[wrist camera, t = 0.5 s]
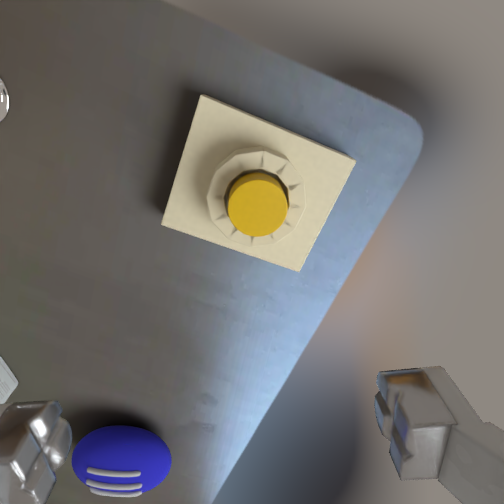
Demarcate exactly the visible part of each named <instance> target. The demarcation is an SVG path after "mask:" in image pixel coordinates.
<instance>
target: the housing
mask: <svg viewBox="0 0 504 504" xmlns="http://www.w3.org/2000/svg"><path fill="white" fill-rule="evenodd" d="M355 163H356V160H355V159H353V158H352V157H350V156H348V155H346V154H344V153H341V152H339V151H337V150H334V149H332V148H330V147H327V146H325V145H323V144H320V143H318V142H316V141H313V140H311V139H309V138H306V137H304V136H301V135H299V134H297V133H294V132H292V131H290V130H287V129H285V128H283V127H280V126H278V125H276V124H273V123H271V122H269V121H266V120H264V119H262V118H259V117H257V116H254V115H252V114H250V113H247V112H245V111H243V110H240V109H238V108H236V107H233V106H231V105H229V104H226V103H224V102H222V101H219V100H217V99H215V98H212V97H210V96H207V95H205V94H202V95H200V98H199V101H198V105H197V108H196V111H195V114H194V118H193V121H192V124H191V127H190V131H189V134H188V137H187V140H186V144H185V147H184V150H183V154H182V157H181V160H180V163H179V167H178V170H177V173H176V176H175V180H174V183H173V186H172V189H171V193H170V196H169V199H168V203H167V206H166V209H165V212H164V216H163V219H162V222H161V225H164V226H167V227H169V228H172V229H175V230H178V231H181V232H184V233H187V234H190V235H193V236H196V237H198V238H201V239H204V240H207V241H210V242H213V243H216V244H219V245H222V246H225V247H228V248H230V249H233V250H236V251H239V252H242V253H245V254H248V255H251V256H254V257H257V258H259V259H262V260H265V261H268V262H271V263H274V264H277V265H280V266H283V267H286V268H289V269H291V270H294V271H297V272H299V271H300V269H301V268H302V266H303V264H304V262H305V260H306V258H307V256H308V254H309V252H310V250H311V248H312V246H313V244H314V242H315V240H316V239H317V237H318V235H319V233H320V231H321V229H322V227H323V225H324V223H325V221H326V219H327V217H328V215H329V213H330V211H331V209H332V208H333V206H334V204H335V202H336V200H337V198H338V196H339V194H340V192H341V190H342V188H343V186H344V184H345V182H346V180H347V179H348V177H349V175H350V173H351V171H352V169H353V167H354V165H355ZM250 173H264V174H267V175H270V176H271V177H273V178H274V179H276V180H277V181H278V183H279V184H280V185H281V187H282V189H283V192H284V194H285V196H286V199H287V204H288V211H287V216H286V218H285V221H284V222H283V224H282V225H281V226H280V227H279V228H278V229H277V230H276V231H275V232H273V233H271V234H269V235H266V236H261V237H253V236H249V235H246V234H243V233H242V232H240V231H239V230H237V229H236V228H235V227H234V225H233V224H232V222H231V221H230V218H229V215H228V199H229V193H230V190H231V188H232V186H233V185H234V183H235V182H236V181H237V180H238V179H239V178H241V177H242V176H244V175H247V174H250Z"/></svg>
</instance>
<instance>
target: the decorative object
mask: <svg viewBox="0 0 504 504" xmlns="http://www.w3.org/2000/svg"><path fill="white" fill-rule="evenodd" d="M72 467H73V470H74V472H75V474H76V475H77V477H78V478H79V479H80V480H81V481H82V482H83V483H84V484H86V485H87V486H89V487H91V488H90V491H91V492H93V493H95V494H98V495H105V496H115V497H134V496H139V495H141V494H142V492H146V491H148V490H151V489H153V488H154V487H156V486H157V485H158V484H160V483H161V482H162V481H163V480H164V479H165V477H166V476H167V474H168V472H169V470H170V467H171V454H170V451H169V449H168V447H167V445H166V444H165V442H164V441H163V440H162V439H161V438H160V437H159V436H157V435H156V434H154V433H152V432H150V431H148V430H145V429H142V428H138V427H132V426H119V425H118V426H107V427H102V428H99V429H96V430H94V431H92V432H90V433H89V434H87V435H86V436H85V437H83V438H82V439H81V440H80V441H79V443H78V444H77V445H76V447H75V449H74V451H73V455H72Z"/></svg>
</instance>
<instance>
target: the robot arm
mask: <svg viewBox="0 0 504 504" xmlns="http://www.w3.org/2000/svg"><path fill="white" fill-rule="evenodd" d="M376 383H377V385H378V388H379V390H380V391H379V392H378V393H377V394H376V395H375V413H376V418H377V422H378V425H379V428H380V430H381V433H382V435H383V436H384V437H385V438H386V439H388V440H389V441H390V442H391V444H390V451H389V453H390V455H391V458H392V460H393V463H394V465H395V468H396V470H397V472H398V475H399V477H400V480H417V479H418V480H419V479H437V478H439V479H438V481H439V482H440V483H441V484H442V485H443V486H444V487H445V488H446V489H447V490H448V491H450V492H451V493H452V494H453V495H454V496H455V497H456V498H457V499H458V500H459V501H460V502H461V503H462V504H504V431H503V430H502V429H500V428H498V427H497V426H495V425H494V424H492V423H490V422H485V423H483V422H482V420H481V419H480V417H479V416H478V415H477V413H476V412H475V410H474V409H473V408H472V406H471V405H470V404H469V402H468V401H467V399H466V398H465V397H464V395H463V394H462V393H461V391H460V390H459V388H458V387H457V386H456V384H455V383H454V382H453V380H452V379H451V377H450V376H449V375H448V373H447V372H446V371H445V369H444V368H442V367H441V366H435V367H423V368H411V369H401V370H391V371H381V372H379V373H378V375H377V382H376ZM61 412H62V408H61V406H60V404H59V402H58V401H53V400H50V401H33V402H16V403H5V404H0V504H46V502H47V500H48V498H49V496H50V493H51V491H52V489H53V487H54V485H55V483H56V476H55V471H56V470H57V469H58V468H59V467H60V466H61V465H62V464H63V463H64V462H65V461H66V458H67V456H68V454H69V451H70V448H71V442H72V431H71V427H70V425H69V423H68V421H66V420H64V419H63V418H61V417H60V414H61Z"/></svg>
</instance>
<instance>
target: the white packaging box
mask: <svg viewBox="0 0 504 504" xmlns="http://www.w3.org/2000/svg"><path fill="white" fill-rule="evenodd" d="M17 385H18V380H17V379H16V378H15V376H14V374H13V373H12V372H11V370H10V369H9V367H8V366H7V365H6V363H5V362H4V360H3V359H2V357H1V356H0V404H4V403H5V402H6V400H7V399H8V397H9V396H10V395H11V393H12V392H13V391H14V389H15V388H16V386H17Z"/></svg>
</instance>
